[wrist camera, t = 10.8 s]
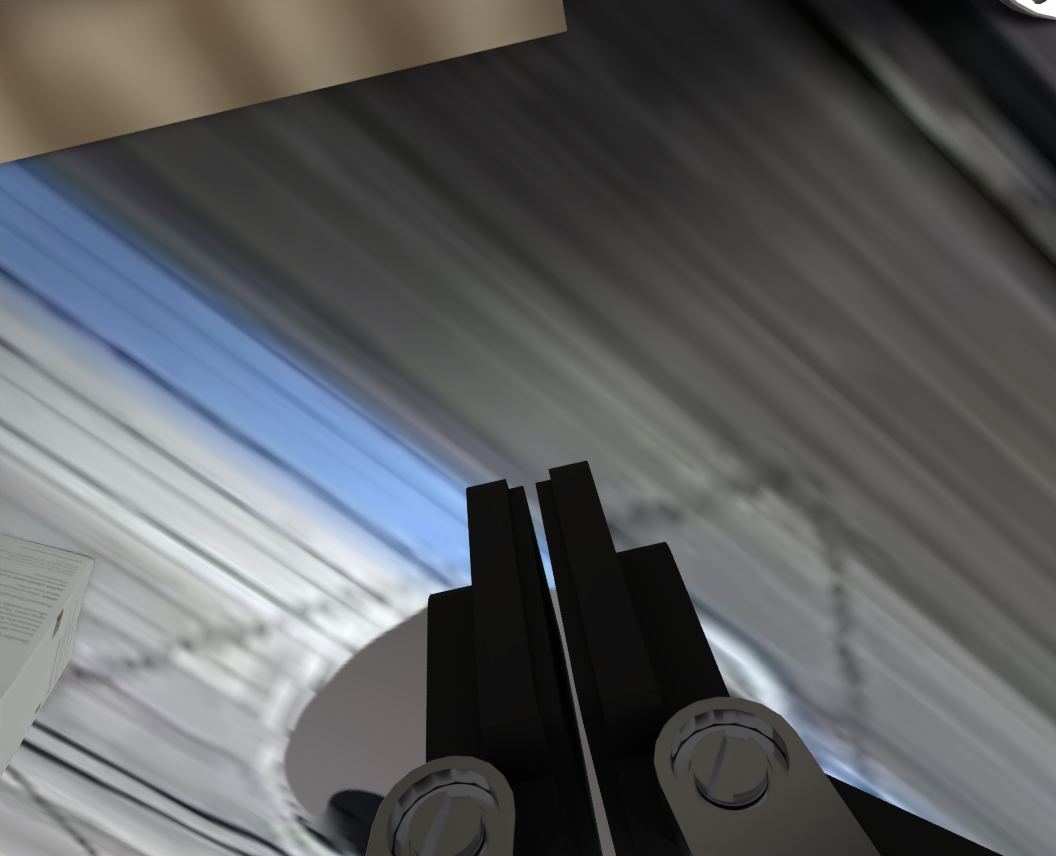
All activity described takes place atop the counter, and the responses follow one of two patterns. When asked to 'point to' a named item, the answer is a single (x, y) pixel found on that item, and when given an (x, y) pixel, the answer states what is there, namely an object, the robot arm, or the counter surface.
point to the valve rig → (218, 56)
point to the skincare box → (34, 630)
